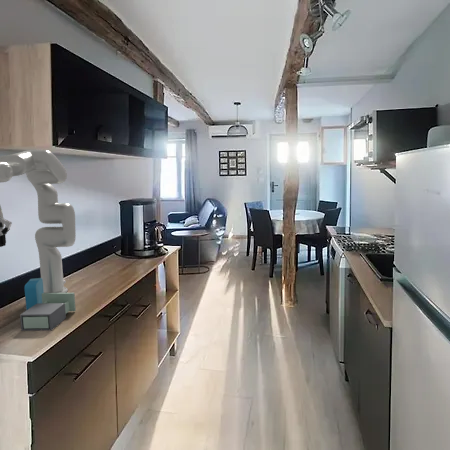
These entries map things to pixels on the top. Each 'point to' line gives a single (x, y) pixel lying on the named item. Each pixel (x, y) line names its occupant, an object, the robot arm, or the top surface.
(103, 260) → the top surface
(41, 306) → the mailer sleeve
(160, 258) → the top surface
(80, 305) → the top surface
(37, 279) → the data package
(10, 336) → the top surface
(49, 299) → the tray
